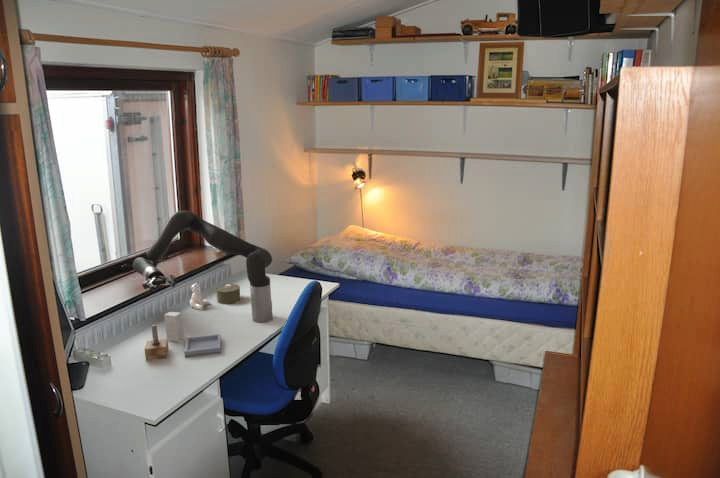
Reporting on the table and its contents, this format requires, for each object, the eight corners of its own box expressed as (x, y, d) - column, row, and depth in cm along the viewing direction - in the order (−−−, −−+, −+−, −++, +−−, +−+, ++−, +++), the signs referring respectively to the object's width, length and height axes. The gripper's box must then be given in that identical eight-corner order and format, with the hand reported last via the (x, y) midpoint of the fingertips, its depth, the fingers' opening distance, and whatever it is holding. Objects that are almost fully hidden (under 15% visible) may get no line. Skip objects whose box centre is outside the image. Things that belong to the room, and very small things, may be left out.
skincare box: (184, 338, 244) (181, 312, 241) (178, 342, 240) (175, 316, 237) (172, 336, 246) (170, 311, 243) (166, 340, 242) (163, 314, 239)
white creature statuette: (201, 310, 276) (199, 287, 273) (185, 309, 277) (183, 286, 274) (210, 303, 285) (208, 281, 282) (195, 302, 286) (192, 280, 283)
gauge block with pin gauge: (168, 349, 233) (165, 320, 230) (166, 358, 226) (163, 328, 223) (148, 352, 232) (144, 322, 228) (145, 360, 224) (142, 330, 221)
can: (216, 305, 282) (215, 292, 280) (217, 297, 294) (216, 284, 292) (240, 303, 284) (239, 290, 283) (240, 295, 296) (239, 283, 294)
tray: (220, 339, 243) (220, 333, 242) (220, 353, 230) (220, 347, 229) (187, 342, 240) (186, 337, 239) (184, 357, 226) (184, 351, 226)
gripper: (136, 271, 254) (146, 281, 242) (168, 265, 262) (179, 276, 249) (138, 286, 256) (147, 298, 244) (169, 281, 264) (180, 291, 251)
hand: (163, 286), depth 246 cm, fingers open, 8 cm apart
